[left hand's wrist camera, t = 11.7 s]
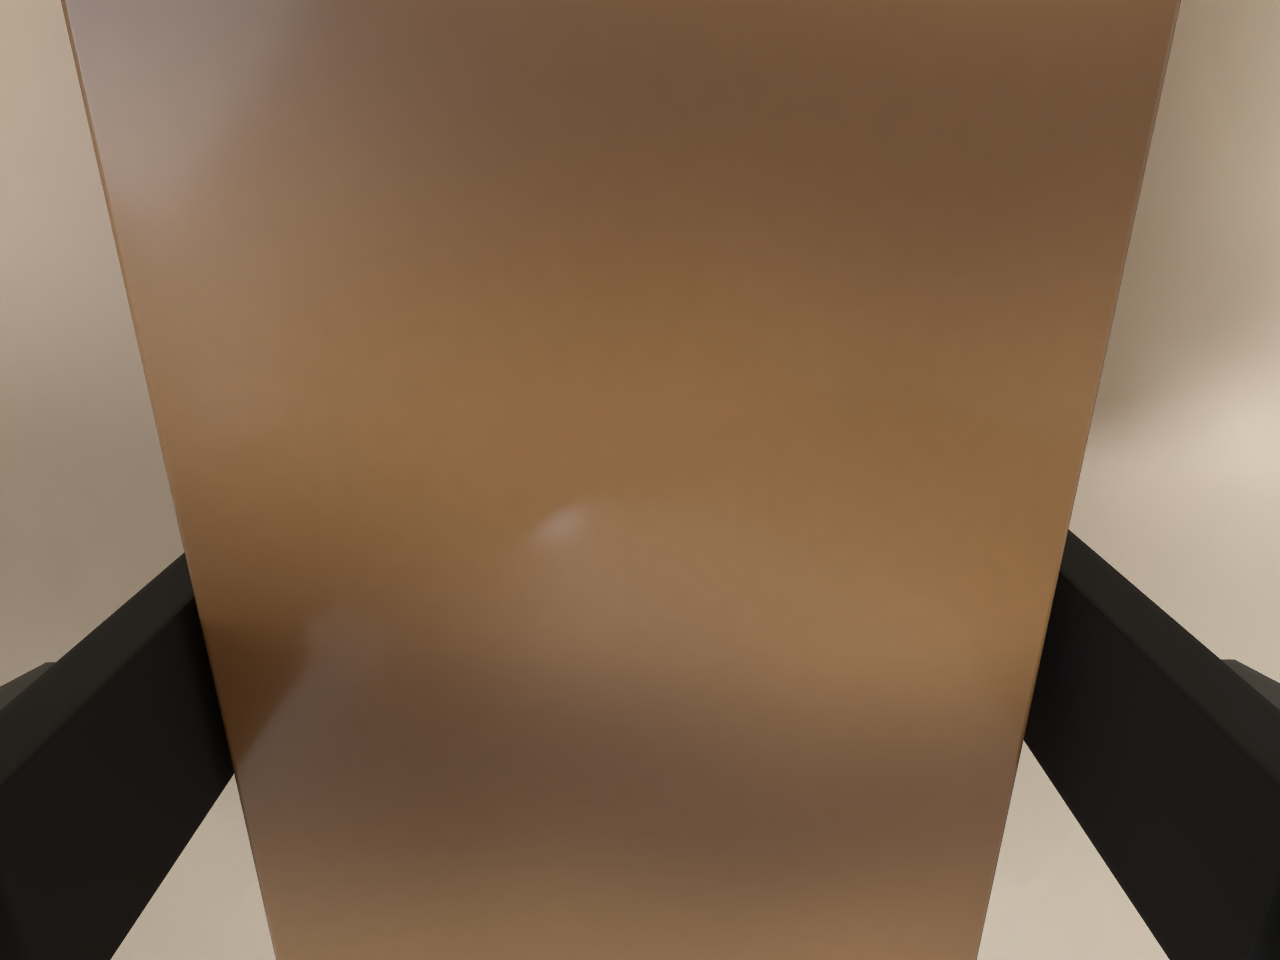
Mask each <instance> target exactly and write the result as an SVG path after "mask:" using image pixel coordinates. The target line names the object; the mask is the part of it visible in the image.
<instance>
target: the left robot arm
mask: <svg viewBox="0 0 1280 960" xmlns="http://www.w3.org/2000/svg"><path fill="white" fill-rule="evenodd" d="M1023 740H1024V741H1025V743H1026V744H1027V746H1028V747H1029V749H1030V750H1031V752H1032V753H1033V755H1034V756H1035V758H1036V759H1037V761H1038V762H1039V764H1040V765H1041V767H1042V768H1043V770H1044V771H1045V773H1046V774H1047V776H1048V777H1049V779H1050V780H1051V782H1052V783H1053V785H1054V786H1055V788H1056V789H1057V791H1058V792H1059V794H1060V795H1061V797H1062V798H1063V800H1064V801H1065V803H1066V804H1067V806H1068V807H1069V809H1070V810H1071V812H1072V813H1073V815H1074V816H1075V818H1076V819H1077V821H1078V822H1079V824H1080V825H1081V827H1082V828H1083V830H1084V831H1085V833H1086V834H1087V836H1088V837H1089V839H1090V840H1091V842H1092V843H1093V845H1094V846H1095V848H1096V849H1097V851H1098V852H1099V854H1100V855H1101V857H1102V859H1103V860H1104V862H1105V863H1106V865H1107V866H1108V868H1109V869H1110V871H1111V872H1112V874H1113V875H1114V877H1115V878H1116V880H1117V881H1118V883H1119V884H1120V886H1121V887H1122V889H1123V890H1124V892H1125V893H1126V895H1127V896H1128V898H1129V899H1130V901H1131V902H1132V904H1133V905H1134V907H1135V908H1136V910H1137V911H1138V913H1139V914H1140V916H1141V917H1142V919H1143V920H1144V922H1145V923H1146V925H1147V926H1148V928H1149V929H1150V931H1151V932H1152V934H1153V935H1154V937H1155V938H1156V940H1157V941H1158V943H1159V944H1160V946H1161V947H1162V949H1163V950H1164V952H1165V953H1166V955H1167V956H1168V958H1169V959H1170V960H1280V683H1278V682H1276V681H1274V680H1272V679H1270V678H1268V677H1267V676H1265V675H1263V674H1261V673H1259V672H1257V671H1255V670H1253V669H1251V668H1249V667H1248V666H1246V665H1244V664H1242V663H1240V662H1238V661H1236V660H1221V659H1219V658H1218V657H1217V656H1216V655H1215V654H1213V653H1212V652H1211V651H1210V650H1209V649H1208V648H1206V647H1205V646H1204V645H1203V644H1202V643H1201V642H1199V641H1198V640H1197V639H1196V638H1195V637H1194V636H1192V635H1191V634H1190V633H1189V632H1188V631H1187V630H1185V629H1184V628H1183V627H1182V626H1181V625H1180V624H1178V623H1177V622H1176V621H1175V620H1174V619H1173V618H1171V617H1170V616H1169V615H1168V614H1167V613H1166V612H1164V611H1163V610H1162V609H1161V608H1160V607H1159V606H1157V605H1156V604H1155V603H1154V602H1153V601H1152V600H1150V599H1149V598H1148V597H1147V596H1146V595H1145V594H1143V593H1142V592H1141V591H1140V590H1139V589H1138V588H1136V587H1135V586H1134V585H1133V584H1132V583H1131V582H1129V581H1128V580H1127V579H1126V578H1125V577H1124V576H1122V575H1121V574H1120V573H1119V572H1118V571H1117V570H1115V569H1114V568H1113V567H1112V566H1111V565H1110V564H1108V563H1107V562H1106V561H1105V560H1104V559H1103V558H1101V557H1100V556H1099V555H1098V554H1097V553H1095V552H1094V551H1093V550H1092V549H1091V548H1090V547H1088V546H1087V545H1086V544H1085V543H1084V542H1083V541H1081V540H1080V539H1079V538H1078V537H1077V536H1076V535H1074V534H1073V533H1072V532H1071V531H1070V530H1069V529H1068V533H1067V537H1066V542H1065V547H1064V551H1063V556H1062V561H1061V565H1060V570H1059V575H1058V580H1057V584H1056V589H1055V594H1054V598H1053V603H1052V608H1051V612H1050V617H1049V622H1048V626H1047V631H1046V636H1045V641H1044V645H1043V650H1042V655H1041V659H1040V664H1039V669H1038V673H1037V678H1036V683H1035V687H1034V692H1033V697H1032V702H1031V706H1030V711H1029V716H1028V720H1027V725H1026V730H1025V734H1024V739H1023ZM233 774H234V769H233V765H232V760H231V756H230V751H229V747H228V743H227V738H226V734H225V729H224V725H223V720H222V716H221V711H220V707H219V702H218V698H217V694H216V689H215V685H214V680H213V676H212V671H211V667H210V662H209V658H208V653H207V649H206V644H205V640H204V636H203V631H202V627H201V622H200V618H199V613H198V609H197V604H196V600H195V595H194V591H193V587H192V582H191V578H190V573H189V569H188V564H187V560H186V555H185V553H183V554H182V555H181V556H180V557H179V558H178V559H176V560H175V561H174V562H173V563H172V564H171V565H169V566H168V567H167V568H166V569H165V570H163V571H162V572H161V573H160V574H159V575H158V576H156V577H155V578H154V579H153V580H152V581H151V582H149V583H148V584H147V585H146V586H145V587H144V588H142V589H141V590H140V591H139V592H138V593H137V594H135V595H134V596H133V597H132V598H131V599H130V600H128V601H127V602H126V603H125V604H124V605H123V606H121V607H120V608H119V609H118V610H117V611H116V612H114V613H113V614H112V615H111V616H110V617H109V618H107V619H106V620H105V621H104V622H103V623H102V624H100V625H99V626H98V627H97V628H96V629H95V630H93V631H92V632H91V633H90V634H89V635H88V636H86V637H85V638H84V639H83V640H82V641H81V642H79V643H78V644H77V645H76V646H75V647H74V648H72V649H71V650H70V651H69V652H68V653H67V654H65V655H64V656H63V657H62V658H61V659H60V660H58V661H57V662H46V663H44V664H43V665H41V666H39V667H37V668H35V669H33V670H31V671H29V672H27V673H26V674H24V675H22V676H20V677H18V678H16V679H14V680H12V681H10V682H9V683H7V684H5V685H3V686H1V687H0V960H110V959H111V958H112V956H113V955H114V953H115V952H116V950H117V949H118V947H119V946H120V944H121V943H122V941H123V940H124V938H125V937H126V935H127V934H128V932H129V931H130V929H131V928H132V926H133V925H134V923H135V922H136V920H137V919H138V917H139V916H140V914H141V913H142V911H143V910H144V908H145V907H146V905H147V904H148V902H149V901H150V899H151V898H152V896H153V895H154V893H155V892H156V890H157V889H158V887H159V886H160V884H161V883H162V881H163V880H164V878H165V877H166V875H167V874H168V872H169V871H170V869H171V868H172V866H173V865H174V863H175V862H176V860H177V859H178V857H179V856H180V854H181V853H182V851H183V850H184V848H185V847H186V845H187V843H188V842H189V840H190V839H191V837H192V836H193V834H194V833H195V831H196V830H197V828H198V827H199V825H200V824H201V822H202V821H203V819H204V818H205V816H206V815H207V813H208V812H209V810H210V809H211V807H212V806H213V804H214V803H215V801H216V800H217V798H218V797H219V795H220V794H221V792H222V791H223V789H224V788H225V786H226V785H227V783H228V782H229V780H230V779H231V777H232V776H233Z"/></svg>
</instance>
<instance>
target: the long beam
mask: <svg viewBox="0 0 1280 960" xmlns="http://www.w3.org/2000/svg"><path fill="white" fill-rule="evenodd" d="M61 2H62V7H63V11H64V16H65V20H66V25H67V29H68V34H69V38H70V43H71V47H72V51H73V56H74V60H75V65H76V69H77V74H78V78H79V83H80V87H81V92H82V96H83V101H84V105H85V109H86V114H87V118H88V123H89V127H90V132H91V136H92V141H93V145H94V150H95V154H96V158H97V163H98V167H99V172H100V176H101V181H102V185H103V190H104V194H105V199H106V203H107V208H108V212H109V216H110V221H111V225H112V230H113V234H114V239H115V243H116V248H117V252H118V257H119V261H120V265H121V270H122V274H123V279H124V283H125V288H126V292H127V297H128V301H129V306H130V310H131V315H132V319H133V323H134V328H135V332H136V337H137V341H138V346H139V350H140V355H141V359H142V364H143V368H144V372H145V377H146V381H147V386H148V390H149V395H150V399H151V404H152V408H153V413H154V417H155V422H156V426H157V430H158V435H159V439H160V444H161V448H162V453H163V457H164V462H165V466H166V471H167V475H168V480H169V484H170V488H171V493H172V497H173V502H174V506H175V511H176V515H177V520H178V524H179V529H180V533H181V537H182V542H183V546H184V551H185V555H186V560H187V564H188V569H189V573H190V578H191V582H192V587H193V591H194V595H195V600H196V604H197V609H198V613H199V618H200V622H201V627H202V631H203V636H204V640H205V644H206V649H207V653H208V658H209V662H210V667H211V671H212V676H213V680H214V685H215V689H216V694H217V698H218V702H219V707H220V711H221V716H222V720H223V725H224V729H225V734H226V738H227V743H228V747H229V751H230V756H231V760H232V765H233V769H234V774H235V778H236V783H237V787H238V792H239V796H240V801H241V805H242V809H243V814H244V818H245V823H246V827H247V832H248V836H249V841H250V845H251V850H252V854H253V858H254V863H255V867H256V872H257V876H258V881H259V885H260V890H261V894H262V899H263V903H264V908H265V912H266V916H267V921H268V925H269V930H270V934H271V939H272V943H273V948H274V952H275V957H276V960H977V955H978V950H979V946H980V941H981V936H982V931H983V927H984V922H985V917H986V913H987V908H988V903H989V899H990V894H991V889H992V885H993V880H994V875H995V870H996V866H997V861H998V856H999V852H1000V847H1001V842H1002V838H1003V833H1004V828H1005V824H1006V819H1007V814H1008V809H1009V805H1010V800H1011V795H1012V791H1013V786H1014V781H1015V777H1016V772H1017V767H1018V763H1019V758H1020V753H1021V748H1022V744H1023V739H1024V734H1025V730H1026V725H1027V720H1028V716H1029V711H1030V706H1031V702H1032V697H1033V692H1034V687H1035V683H1036V678H1037V673H1038V669H1039V664H1040V659H1041V655H1042V650H1043V645H1044V641H1045V636H1046V631H1047V626H1048V622H1049V617H1050V612H1051V608H1052V603H1053V598H1054V594H1055V589H1056V584H1057V580H1058V575H1059V570H1060V565H1061V561H1062V556H1063V551H1064V547H1065V542H1066V537H1067V533H1068V528H1069V523H1070V519H1071V514H1072V509H1073V504H1074V500H1075V495H1076V490H1077V486H1078V481H1079V476H1080V472H1081V467H1082V462H1083V457H1084V453H1085V448H1086V443H1087V439H1088V434H1089V429H1090V425H1091V420H1092V415H1093V411H1094V406H1095V401H1096V396H1097V392H1098V387H1099V382H1100V378H1101V373H1102V368H1103V364H1104V359H1105V354H1106V350H1107V345H1108V340H1109V335H1110V331H1111V326H1112V321H1113V317H1114V312H1115V307H1116V303H1117V298H1118V293H1119V289H1120V284H1121V279H1122V274H1123V270H1124V265H1125V260H1126V256H1127V251H1128V246H1129V242H1130V237H1131V232H1132V228H1133V223H1134V218H1135V213H1136V209H1137V204H1138V199H1139V195H1140V190H1141V185H1142V181H1143V176H1144V171H1145V167H1146V162H1147V157H1148V152H1149V148H1150V143H1151V138H1152V134H1153V129H1154V124H1155V120H1156V115H1157V110H1158V106H1159V101H1160V96H1161V91H1162V87H1163V82H1164V77H1165V73H1166V68H1167V63H1168V59H1169V54H1170V49H1171V45H1172V40H1173V35H1174V30H1175V26H1176V21H1177V16H1178V12H1179V7H1180V2H1181V0H61Z"/></svg>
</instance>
